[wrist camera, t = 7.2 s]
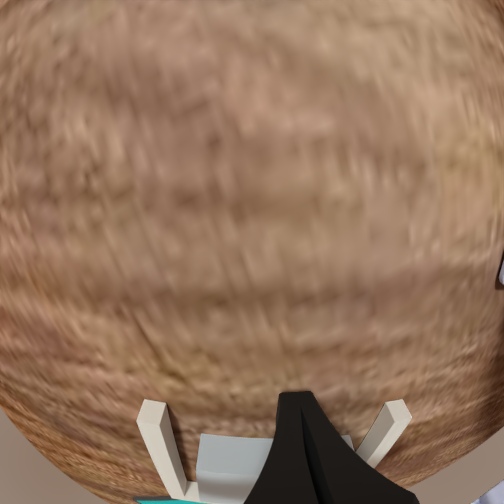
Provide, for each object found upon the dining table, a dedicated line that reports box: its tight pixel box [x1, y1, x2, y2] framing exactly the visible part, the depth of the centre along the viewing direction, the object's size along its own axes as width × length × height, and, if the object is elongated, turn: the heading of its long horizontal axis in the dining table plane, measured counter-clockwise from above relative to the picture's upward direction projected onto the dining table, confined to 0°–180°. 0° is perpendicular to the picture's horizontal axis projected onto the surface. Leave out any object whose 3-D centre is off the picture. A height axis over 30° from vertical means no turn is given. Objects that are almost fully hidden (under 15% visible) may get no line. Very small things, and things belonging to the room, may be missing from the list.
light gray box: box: [196, 434, 354, 504], centre depth 13 cm, size 9×6×3 cm, turn 84°
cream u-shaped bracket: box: [137, 399, 412, 504], centre depth 14 cm, size 14×12×2 cm
